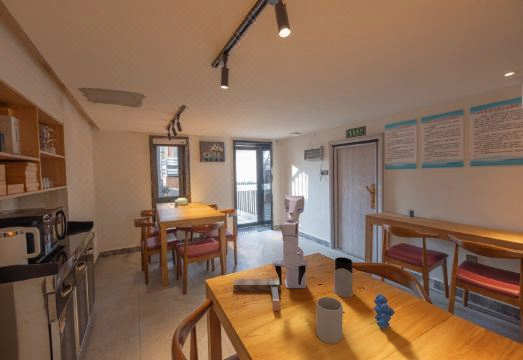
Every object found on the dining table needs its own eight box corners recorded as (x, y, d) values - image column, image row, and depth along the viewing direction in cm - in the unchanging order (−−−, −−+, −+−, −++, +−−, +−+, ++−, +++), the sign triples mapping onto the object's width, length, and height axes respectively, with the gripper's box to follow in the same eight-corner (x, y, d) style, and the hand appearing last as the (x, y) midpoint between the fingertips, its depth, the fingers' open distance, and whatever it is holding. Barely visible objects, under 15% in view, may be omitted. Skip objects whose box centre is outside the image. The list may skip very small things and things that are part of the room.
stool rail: (279, 285, 115) (279, 275, 114) (281, 295, 105) (281, 284, 105) (234, 285, 115) (234, 275, 114) (232, 295, 105) (232, 284, 105)
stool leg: (270, 290, 109) (270, 282, 108) (277, 290, 109) (277, 282, 108) (272, 310, 93) (272, 300, 93) (280, 310, 93) (280, 300, 93)
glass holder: (332, 295, 105) (332, 262, 105) (335, 281, 118) (335, 252, 118) (353, 298, 102) (353, 265, 101) (353, 284, 115) (353, 254, 115)
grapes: (401, 340, 77) (401, 304, 76) (379, 337, 78) (379, 302, 78) (389, 318, 88) (389, 287, 88) (370, 316, 90) (370, 285, 89)
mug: (340, 347, 74) (340, 313, 74) (313, 338, 78) (313, 306, 77) (345, 325, 85) (345, 295, 84) (321, 318, 88) (322, 290, 88)
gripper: (273, 254, 92) (273, 288, 92) (309, 254, 92) (309, 288, 92) (272, 249, 99) (272, 280, 99) (306, 248, 99) (306, 280, 99)
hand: (290, 283), depth 96 cm, fingers open, 7 cm apart
